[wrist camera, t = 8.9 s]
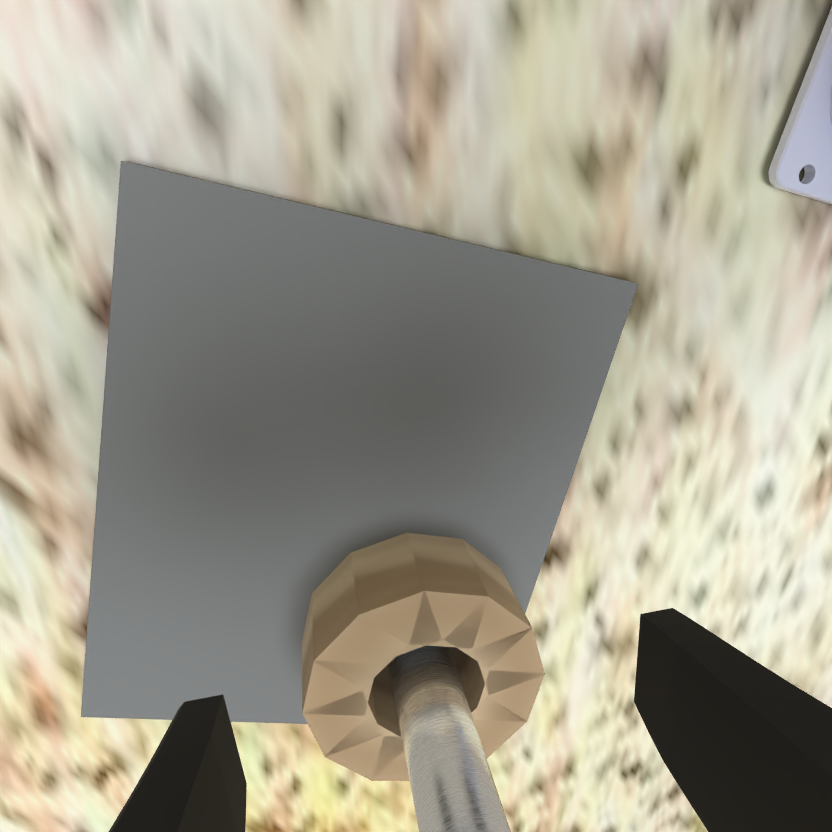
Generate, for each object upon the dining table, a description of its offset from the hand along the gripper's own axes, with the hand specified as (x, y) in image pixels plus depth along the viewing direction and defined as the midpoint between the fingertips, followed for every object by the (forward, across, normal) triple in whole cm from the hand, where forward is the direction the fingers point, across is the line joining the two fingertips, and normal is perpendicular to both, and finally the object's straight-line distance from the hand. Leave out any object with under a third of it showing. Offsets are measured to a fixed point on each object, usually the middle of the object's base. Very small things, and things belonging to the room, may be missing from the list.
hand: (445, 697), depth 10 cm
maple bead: (+9, 0, +6) cm, 11 cm away
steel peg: (+9, 0, +6) cm, 10 cm away
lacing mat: (+9, +1, +1) cm, 9 cm away
